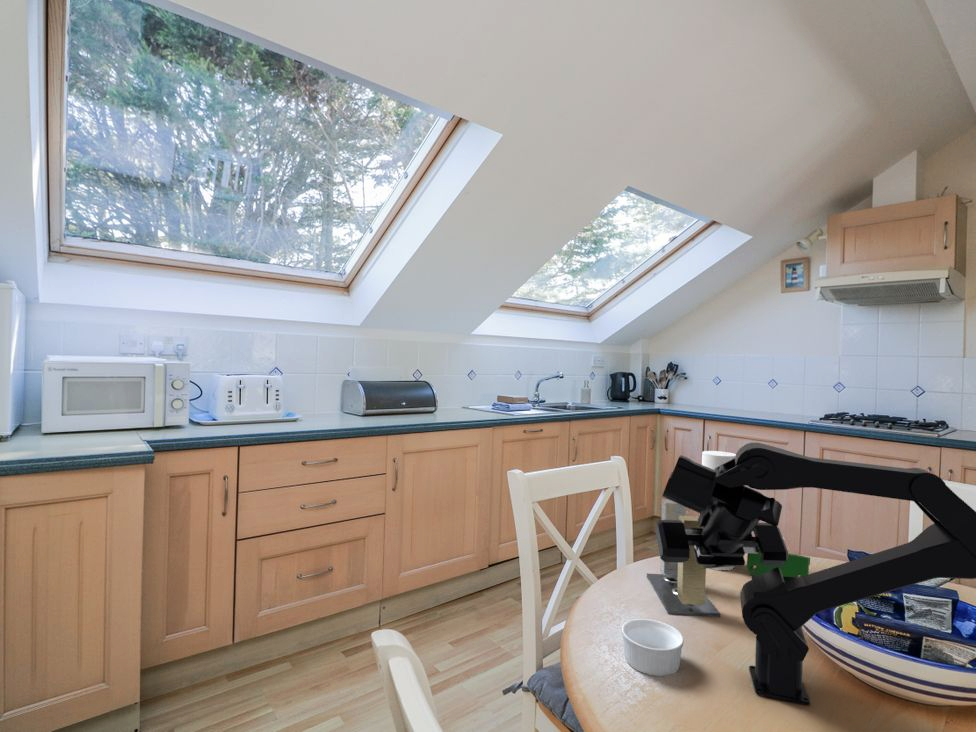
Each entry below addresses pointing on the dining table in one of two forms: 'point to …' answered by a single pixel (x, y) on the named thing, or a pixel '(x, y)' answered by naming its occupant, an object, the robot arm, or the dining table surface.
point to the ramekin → (652, 646)
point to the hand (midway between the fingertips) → (705, 565)
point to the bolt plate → (675, 601)
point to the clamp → (789, 569)
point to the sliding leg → (691, 572)
